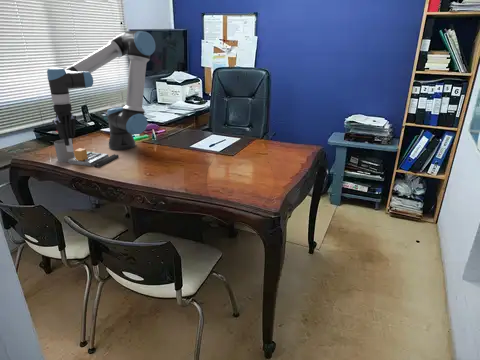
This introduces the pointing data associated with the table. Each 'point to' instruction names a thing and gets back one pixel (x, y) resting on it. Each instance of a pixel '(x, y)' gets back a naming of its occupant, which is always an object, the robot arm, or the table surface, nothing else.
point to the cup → (62, 151)
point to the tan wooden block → (80, 154)
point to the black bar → (106, 160)
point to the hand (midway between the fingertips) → (70, 151)
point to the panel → (89, 159)
